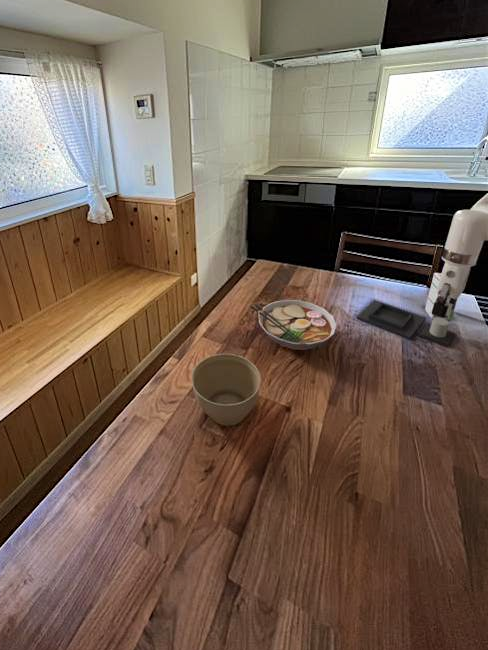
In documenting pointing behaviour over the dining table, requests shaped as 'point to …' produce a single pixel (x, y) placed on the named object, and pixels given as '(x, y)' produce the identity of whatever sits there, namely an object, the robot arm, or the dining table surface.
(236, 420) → the planter bowl
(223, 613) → the dining table surface
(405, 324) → the base pad
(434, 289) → the syrup box
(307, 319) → the ramen bowl
